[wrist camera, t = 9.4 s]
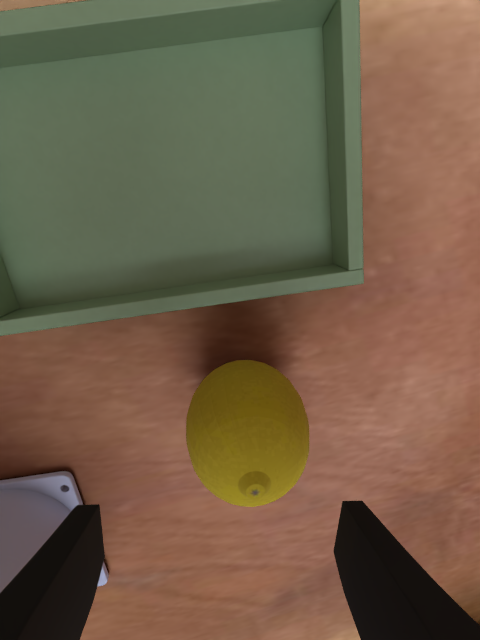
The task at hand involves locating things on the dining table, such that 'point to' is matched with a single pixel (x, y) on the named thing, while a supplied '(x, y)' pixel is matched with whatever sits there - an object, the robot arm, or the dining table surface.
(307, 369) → the dining table surface
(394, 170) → the dining table surface
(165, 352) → the dining table surface
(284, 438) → the lemon
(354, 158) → the tray
